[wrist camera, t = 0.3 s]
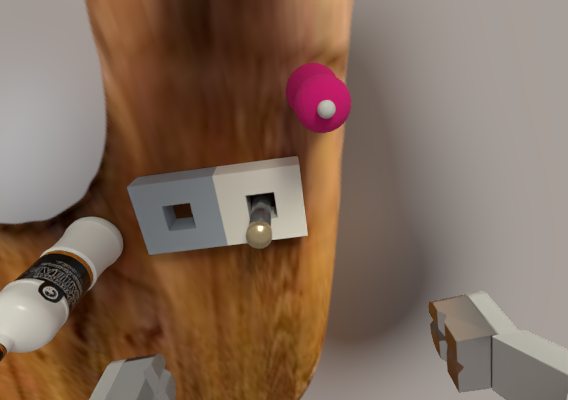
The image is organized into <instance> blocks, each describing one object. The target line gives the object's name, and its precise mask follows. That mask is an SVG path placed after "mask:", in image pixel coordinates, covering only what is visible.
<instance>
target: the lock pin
mask: <svg viewBox="0 0 568 400" xmlns="http://www.w3.org/2000/svg"><path fill="white" fill-rule="evenodd" d="M271 209H272V193H271V192H270V193H263V194H255V195H254V197H253V204H252V210H251V216H250V223H249V226H248V228H247V232H246V241H247V243H248V244H249V245H250V246H251V247H253V248H257V249H261V248H265V247H267V246H268V245H269V244H270V243H271V241H272V228H271Z"/></svg>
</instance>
